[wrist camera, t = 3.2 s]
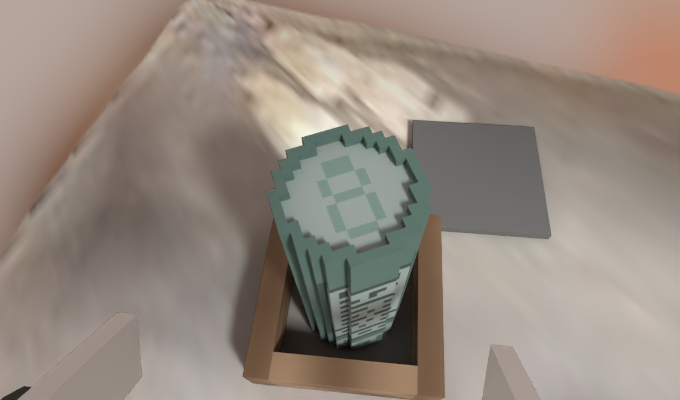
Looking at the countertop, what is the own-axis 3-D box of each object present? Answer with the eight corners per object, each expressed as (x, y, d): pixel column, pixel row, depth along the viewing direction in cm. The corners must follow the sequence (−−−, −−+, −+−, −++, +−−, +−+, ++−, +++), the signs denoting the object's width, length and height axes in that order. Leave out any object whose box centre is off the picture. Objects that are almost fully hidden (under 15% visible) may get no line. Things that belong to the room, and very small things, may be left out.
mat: (531, 131, 36) (533, 127, 36) (548, 238, 32) (551, 235, 31) (412, 124, 37) (413, 120, 37) (410, 228, 32) (411, 224, 32)
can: (375, 250, 31) (392, 111, 18) (409, 330, 29) (456, 232, 16) (296, 276, 31) (254, 151, 18) (322, 362, 28) (294, 286, 15)
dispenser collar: (433, 233, 32) (440, 215, 29) (435, 402, 26) (444, 397, 24) (282, 222, 33) (276, 203, 30) (253, 383, 27) (242, 376, 25)
